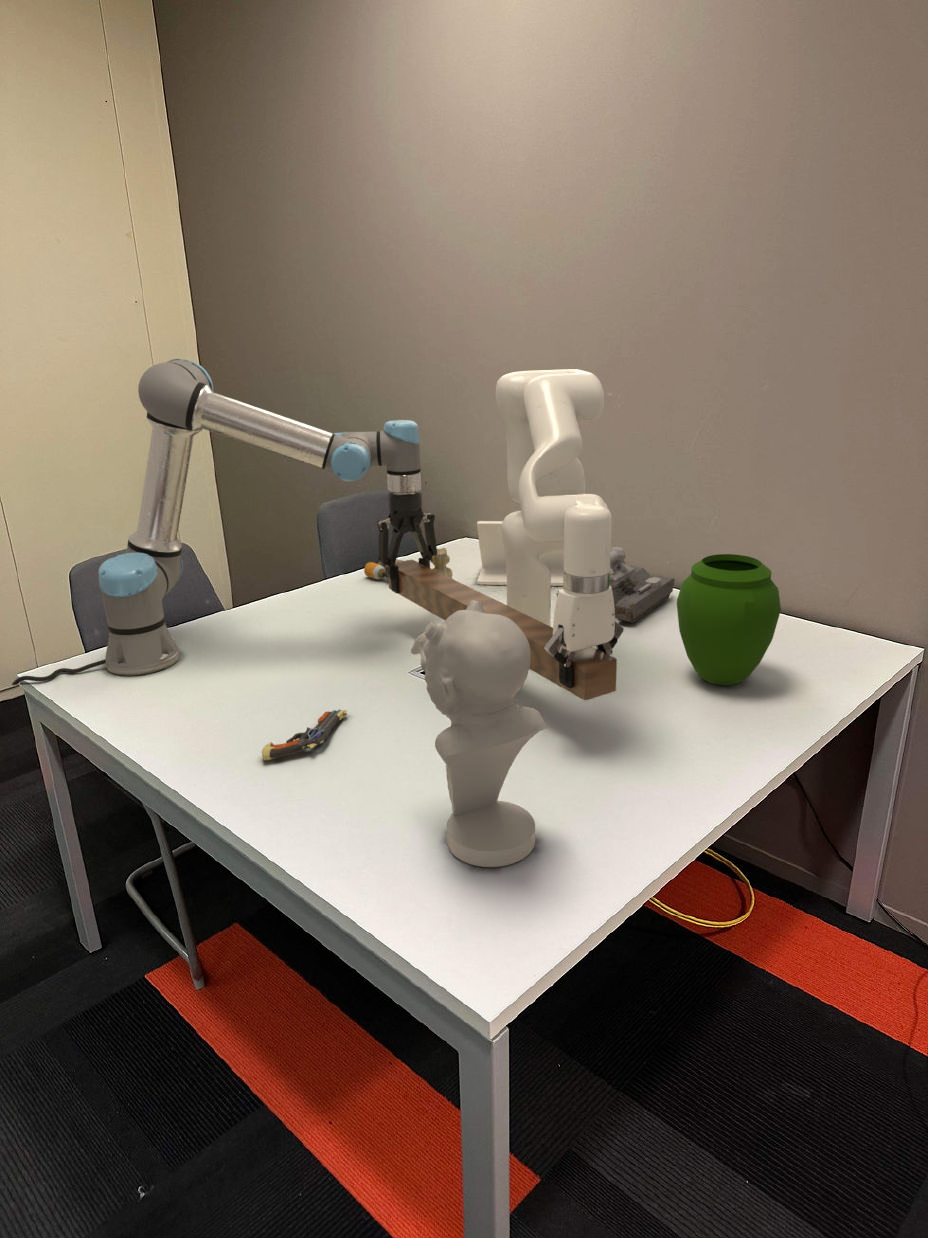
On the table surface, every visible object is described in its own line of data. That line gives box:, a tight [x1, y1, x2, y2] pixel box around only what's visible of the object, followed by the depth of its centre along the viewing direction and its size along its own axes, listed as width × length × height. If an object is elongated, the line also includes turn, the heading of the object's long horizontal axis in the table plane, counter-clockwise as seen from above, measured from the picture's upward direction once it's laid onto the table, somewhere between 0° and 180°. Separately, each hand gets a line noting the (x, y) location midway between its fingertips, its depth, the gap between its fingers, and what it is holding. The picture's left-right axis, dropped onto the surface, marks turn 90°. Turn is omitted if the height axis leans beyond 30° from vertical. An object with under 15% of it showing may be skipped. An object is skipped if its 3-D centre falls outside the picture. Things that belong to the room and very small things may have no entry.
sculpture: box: [430, 547, 453, 579], centre depth 214 cm, size 6×7×15 cm
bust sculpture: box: [410, 600, 547, 868], centre depth 121 cm, size 16×24×35 cm
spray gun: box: [363, 558, 408, 580], centre depth 242 cm, size 4×17×15 cm
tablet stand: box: [476, 520, 564, 587], centre depth 236 cm, size 18×25×17 cm
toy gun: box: [261, 708, 348, 761], centre depth 153 cm, size 3×19×10 cm
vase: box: [676, 553, 782, 686], centre depth 168 cm, size 20×20×24 cm
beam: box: [387, 559, 618, 702], centre depth 172 cm, size 74×7×6 cm, turn 31°
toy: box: [556, 546, 676, 624], centre depth 212 cm, size 25×20×15 cm
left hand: (409, 588), depth 199 cm, fingers closed on beam, 7 cm apart
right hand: (583, 679), depth 146 cm, fingers closed on beam, 6 cm apart
